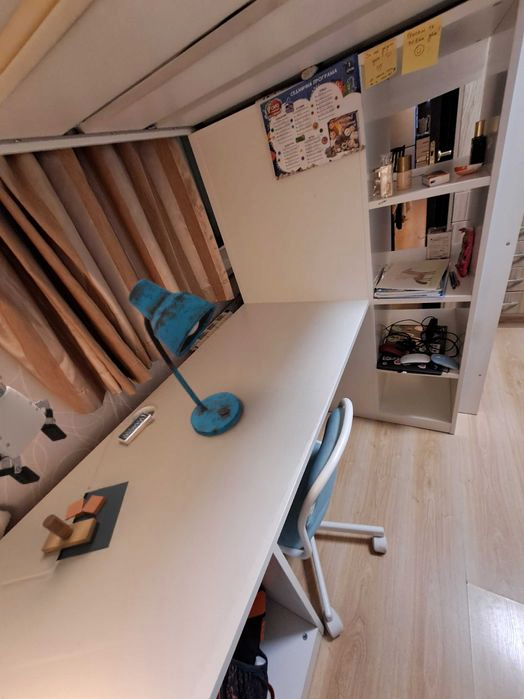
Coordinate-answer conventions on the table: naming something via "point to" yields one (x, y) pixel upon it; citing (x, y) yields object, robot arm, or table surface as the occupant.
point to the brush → (68, 534)
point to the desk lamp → (184, 346)
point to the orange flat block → (75, 509)
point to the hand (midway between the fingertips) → (47, 458)
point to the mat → (100, 519)
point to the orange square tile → (94, 505)
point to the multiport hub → (135, 428)
